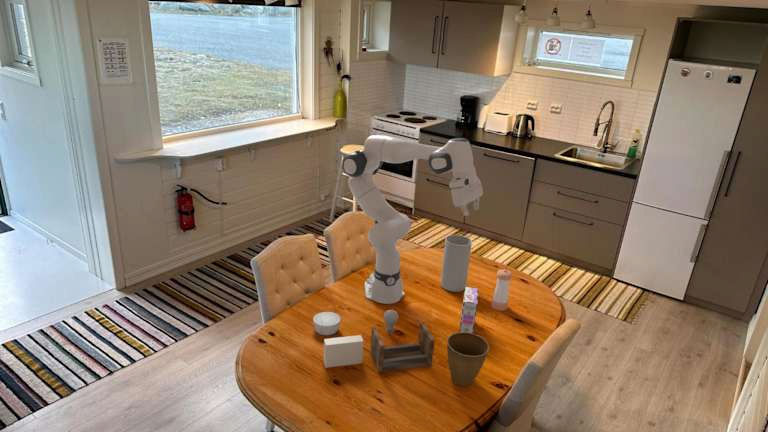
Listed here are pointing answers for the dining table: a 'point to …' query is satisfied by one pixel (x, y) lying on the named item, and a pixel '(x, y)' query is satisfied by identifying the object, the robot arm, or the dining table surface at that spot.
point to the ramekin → (326, 323)
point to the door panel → (343, 351)
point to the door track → (402, 352)
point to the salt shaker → (501, 290)
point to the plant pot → (465, 356)
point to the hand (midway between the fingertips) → (471, 212)
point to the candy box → (469, 310)
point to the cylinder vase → (455, 262)
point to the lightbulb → (390, 320)
